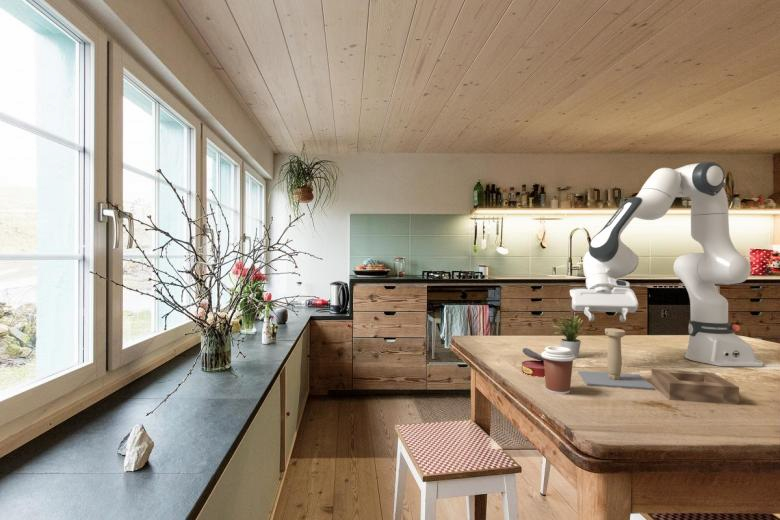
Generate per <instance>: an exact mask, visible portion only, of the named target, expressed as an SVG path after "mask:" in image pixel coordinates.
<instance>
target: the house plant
mask: <svg viewBox="0 0 780 520" xmlns="http://www.w3.org/2000/svg"><path fill="white" fill-rule="evenodd" d="M574 315H575V314H572V316H571V318H570V322H569V320H568V319H567V317H566V316H565V315H563V316H560V315H559V317H560V318H561V319H560V320H557V319H556V318H554V321H556V322H557V323H561V324H560V326H557V325H551V327H553V328H555V329H554V330H556V331H555V332H554V334H555V336H556V334H557V335H558V334H559V333H560V334H561V335H563V337H564V338H560V345H561V347H566V348H569V349H571V350H572V353H573V354H574V355H575V359H578V358H579V353H580V349H581V344H582V341H581V339H577V338H578V337H579V336H580V334H581V333H584V332H589V331H588V330H584V331H583V330H582V331H580V332H578V331H579V330H580V328H581V327H582V326H583V325H584V324H585V322H583V320H581V317H580V318H579V319H578V317H579V315H576V316H574ZM550 319H553V317H552V318H550ZM580 320H581V321H580ZM582 322H583V323H582ZM556 328H557V329H556ZM557 330H558V331H557ZM559 330H560V331H559Z"/></svg>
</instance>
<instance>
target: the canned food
mask: <svg viewBox="0 0 780 520" xmlns="http://www.w3.org/2000/svg"><path fill="white" fill-rule="evenodd" d="M522 353H523V354H524V355H525V356H526V357H529V358H531V359H534V360H529V359H528V360H524V361H522V362H521V373H522V372H523V373H522V374H524V373H525V374H524V375H526V374H527V376H529V375H531V376H530V377H535V376H538V377H537V378H545V377H544V376H545V370H544V358H542V356H541V354H539V353H538V352H536V351H534V350H532V349H530V348H527V347H524V348H522Z"/></svg>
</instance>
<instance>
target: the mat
mask: <svg viewBox="0 0 780 520" xmlns="http://www.w3.org/2000/svg"><path fill="white" fill-rule="evenodd" d="M578 374H579V376H580V375H581V376H580V377H581V379H582V378H583V379H582V380H583V381H585V382H584V383H585V385H586V384H587V385H593V386H592V387H602V386H608V387H607V388H617V387H624V388H623V389H632V388H636V389H637V390H646V391H647V390H649V391H655V390H656V388H655V387H654V386H653V385H652V383H650V382H648V381H647V380H646V379H645V378H644V377H643V376H642V375H641V374H640V373H639V374H636V373H622V372H621V374H620V379H619V380H613V379H609V375H608V374H609V373H608V372H605V371H604V372H603V371H586V370H578ZM587 385H586V386H587ZM636 389H635V390H636Z"/></svg>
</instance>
